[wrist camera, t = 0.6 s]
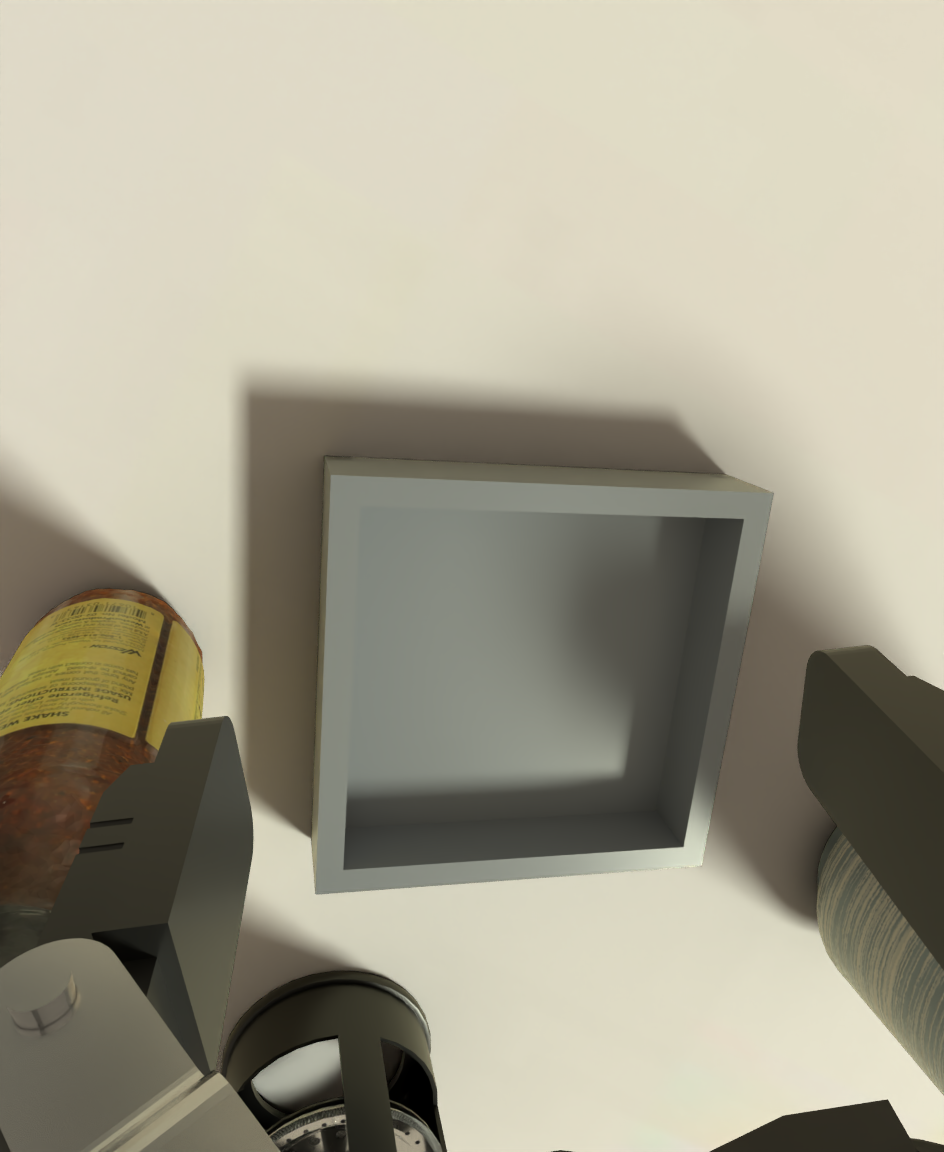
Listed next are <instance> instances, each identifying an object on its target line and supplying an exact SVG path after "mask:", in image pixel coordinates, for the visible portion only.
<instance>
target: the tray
mask: <svg viewBox="0 0 944 1152" xmlns="http://www.w3.org/2000/svg"><path fill="white" fill-rule="evenodd" d="M773 494H774V493H772V492H769V491H767V490H764V489H762V488H759V487H757V486H754V485H752V484H749V483H747V482H744V481H742V480H739V479H737V478H734V477H732V476H729V475H727V474H709V473H687V472H665V471H644V470H622V469H601V468H579V467H557V466H536V465H514V464H493V463H471V462H449V461H428V460H406V459H385V458H363V457H341V456H324V477H323V506H322V535H321V565H320V594H319V623H318V652H317V681H316V711H315V740H314V769H313V798H312V827H311V845H312V857H313V870H314V883H315V894H329V893H343V892H356V891H370V890H383V889H397V888H411V887H424V886H438V885H451V884H465V883H479V882H492V881H506V880H519V879H533V878H547V877H560V876H574V875H587V874H601V873H615V872H628V871H642V870H655V869H669V868H683V867H696V866H702V861H703V856H704V851H705V846H706V840H707V835H708V830H709V825H710V820H711V815H712V809H713V804H714V799H715V794H716V789H717V784H718V778H719V773H720V768H721V763H722V758H723V753H724V747H725V742H726V737H727V732H728V727H729V722H730V716H731V711H732V706H733V701H734V696H735V691H736V685H737V680H738V675H739V670H740V665H741V660H742V654H743V649H744V644H745V639H746V634H747V629H748V623H749V618H750V613H751V608H752V603H753V598H754V592H755V587H756V582H757V577H758V572H759V567H760V561H761V556H762V551H763V546H764V541H765V536H766V530H767V525H768V520H769V515H770V510H771V505H772V499H773Z"/></svg>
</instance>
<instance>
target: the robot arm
mask: <svg viewBox="0 0 944 1152" xmlns="http://www.w3.org/2000/svg"><path fill="white" fill-rule="evenodd" d="M798 758H799V764H800V768H801V771H802V774H803V777H804V779H805V781H806V783H807V785H808V787H809V788H810V790H811V791H812V793H813V794H814V795H815V797H816V798H817V799H818V801H819V802H820V803H821V805H822V806H823V808H824V809H825V810H826V812H827V813H828V814H829V816H830V817H831V818H832V820H833V821H834V822H835V824H836V825H837V827H838V828H839V829H840V831H841V832H842V833H843V835H844V836H845V837H846V839H847V840H848V841H849V843H850V844H851V846H852V847H853V848H854V850H855V851H856V852H857V854H858V855H859V856H860V858H861V859H862V860H863V862H864V863H865V865H866V866H867V867H868V869H869V870H870V871H871V873H872V874H873V875H874V877H875V878H876V879H877V881H878V882H879V884H880V885H881V886H882V888H883V889H884V890H885V892H886V893H887V894H888V896H889V897H890V898H891V900H892V901H893V903H894V904H895V905H896V907H897V908H898V909H899V911H900V912H901V913H902V915H903V916H904V917H905V919H906V920H907V922H908V923H909V924H910V926H911V927H912V928H913V930H914V931H915V932H916V934H917V935H918V936H919V938H920V939H921V941H922V942H923V943H924V945H925V946H926V947H927V949H928V950H929V951H930V953H931V954H932V955H933V957H934V958H935V960H936V961H937V962H938V964H939V965H940V966H941V968H942V969H943V970H944V691H943V690H941V689H939V688H937V687H935V686H933V685H931V684H929V683H927V682H925V681H923V680H921V679H919V678H917V677H915V676H906V675H905V674H904V673H902V672H901V671H900V670H899V669H898V668H897V667H896V666H895V665H894V664H893V663H891V662H890V661H889V660H888V659H887V658H886V657H885V656H884V655H883V654H881V653H880V652H879V651H878V650H877V649H876V648H874V647H872V646H868V645H865V646H856V647H847V648H839V649H830V650H821V651H815V652H814V653H813V654H812V655H811V656H810V658H809V660H808V664H807V669H806V677H805V685H804V694H803V702H802V710H801V719H800V727H799V735H798ZM252 854H253V821H252V812H251V806H250V802H249V797H248V792H247V788H246V783H245V778H244V774H243V769H242V764H241V760H240V755H239V750H238V746H237V741H236V736H235V732H234V728H233V724H232V722H231V720H230V718H229V717H228V716H223V717H214V718H205V719H196V720H187V721H178V722H171V723H170V724H169V725H168V727H167V729H166V732H165V734H164V737H163V740H162V743H161V745H160V748H159V751H158V753H157V756H156V759H155V761H154V762H153V763H144V764H135V765H130V766H129V767H128V768H127V769H126V770H125V771H124V772H123V773H122V774H121V775H120V776H119V777H118V778H117V779H116V780H115V781H114V782H113V783H112V784H111V785H110V786H109V787H108V788H107V789H106V790H105V791H104V792H103V794H102V796H101V798H100V801H99V803H98V805H97V807H96V810H95V812H94V814H93V817H92V819H91V821H90V829H87V830H86V833H85V835H84V837H83V840H82V842H81V844H80V846H79V854H76V856H75V858H74V860H73V862H72V865H71V867H70V869H69V872H68V874H67V876H66V878H65V881H64V883H63V885H62V888H61V890H60V892H59V895H58V897H57V899H56V901H55V904H54V906H53V908H52V911H51V913H50V915H49V917H48V920H47V922H46V924H45V927H44V929H43V931H42V933H41V936H40V938H39V940H38V943H37V945H36V947H35V948H34V949H31V950H29V951H27V952H25V953H23V954H22V955H20V956H18V957H16V958H15V959H13V960H12V961H10V962H8V963H7V964H6V965H4V966H3V967H2V968H0V1152H280V1150H279V1149H278V1148H277V1146H276V1145H275V1144H274V1142H273V1141H272V1139H271V1138H270V1137H269V1135H268V1134H267V1133H266V1131H265V1130H264V1129H263V1127H262V1126H261V1125H260V1123H259V1122H258V1121H257V1119H256V1118H255V1117H254V1115H253V1114H252V1113H251V1111H250V1110H249V1109H248V1107H247V1106H246V1105H245V1103H244V1102H243V1101H242V1099H241V1098H240V1097H239V1095H238V1094H237V1093H236V1091H235V1090H234V1089H233V1087H232V1086H231V1085H230V1084H229V1082H228V1081H227V1080H226V1079H225V1078H224V1077H223V1076H222V1075H221V1074H220V1073H219V1072H217V1071H215V1070H216V1065H217V1059H218V1053H219V1047H220V1041H221V1035H222V1030H223V1024H224V1018H225V1012H226V1006H227V1000H228V995H229V989H230V983H231V977H232V971H233V965H234V960H235V954H236V948H237V942H238V936H239V931H240V925H241V919H242V913H243V907H244V901H245V896H246V890H247V884H248V878H249V872H250V866H251V861H252ZM553 1152H571V1151H562V1150H559V1151H553ZM710 1152H944V1145H942V1144H937V1143H933V1142H929V1141H924V1140H920V1139H912V1138H909V1136H908V1134H907V1132H906V1131H905V1129H904V1127H903V1125H902V1124H901V1122H900V1120H899V1118H898V1117H897V1115H896V1113H895V1111H894V1110H893V1108H892V1106H891V1104H890V1103H889V1101H888V1100H881V1101H875V1102H868V1103H862V1104H855V1105H849V1106H843V1107H836V1108H830V1109H823V1110H817V1111H810V1112H804V1113H798V1114H791V1115H785V1116H782V1117H780V1118H778V1119H776V1120H774V1121H771V1122H769V1123H767V1124H765V1125H763V1126H761V1127H759V1128H757V1129H755V1130H753V1131H751V1132H749V1133H747V1134H745V1135H743V1136H741V1137H739V1138H737V1139H735V1140H733V1141H731V1142H729V1143H726V1144H724V1145H722V1146H720V1147H718V1148H716V1149H714V1150H712V1151H710Z"/></svg>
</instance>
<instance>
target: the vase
mask: <svg viewBox="0 0 944 1152" xmlns="http://www.w3.org/2000/svg"><path fill="white" fill-rule="evenodd" d="M817 884H818V893H817V906H816V910H817V918H818V926H819V932H820V935H821V938H822V941H823V944H824V946H825V949H826V952H827V954H828V955H829V957H830V959H831V960H832V962H833V963H834V965H835V966H836V968H837V969H838V971H839V972H840V973H841V974H842V975H843V976H844V978H845V979H846V980H847V981H848V982H849V984H850V985H851V986H852V987H853V988H854V990H855V991H856V992H857V993H858V994H859V995H860V997H861V998H862V999H863V1000H864V1001H865V1003H866V1004H867V1005H868V1006H869V1007H870V1009H871V1010H872V1011H873V1012H874V1013H875V1014H876V1016H877V1017H878V1018H879V1019H880V1020H881V1022H882V1023H883V1024H884V1025H885V1026H886V1028H887V1029H888V1030H889V1031H890V1032H891V1033H892V1035H893V1036H894V1037H895V1038H896V1039H897V1041H898V1042H899V1043H900V1044H901V1045H902V1047H903V1048H904V1049H905V1050H906V1051H907V1053H908V1054H909V1055H910V1056H911V1057H912V1058H913V1060H914V1061H915V1062H916V1063H917V1064H918V1066H919V1067H920V1068H921V1069H922V1070H923V1072H924V1073H925V1074H926V1075H927V1076H928V1077H929V1079H930V1080H931V1081H932V1082H933V1083H934V1085H935V1086H936V1087H937V1088H938V1089H939V1091H940V1092H941V1093H942V1094H943V1095H944V970H943V969H942V968H941V966H940V965H939V964H938V962H937V961H936V960H935V958H934V957H933V955H932V954H931V953H930V951H929V950H928V949H927V947H926V946H925V945H924V943H923V942H922V941H921V939H920V938H919V936H918V935H917V934H916V932H915V931H914V930H913V928H912V927H911V926H910V924H909V923H908V922H907V920H906V919H905V917H904V916H903V915H902V913H901V912H900V911H899V909H898V908H897V907H896V905H895V904H894V903H893V901H892V900H891V898H890V897H889V896H888V894H887V893H886V892H885V890H884V889H883V888H882V886H881V885H880V884H879V882H878V881H877V879H876V878H875V877H874V875H873V874H872V873H871V871H870V870H869V869H868V867H867V866H866V865H865V863H864V862H863V860H862V859H861V858H860V856H859V855H858V854H857V852H856V851H855V850H854V848H853V847H852V846H851V844H850V843H849V841H848V840H847V839H846V837H845V836H844V835H843V833H842V832H841V831H840V829H839V828H838V827H836V828H835V830H834V831H833V833H832V835H831V836H830V838H829V840H828V841H827V843H826V846H825V848H824V850H823V853H822V855H821V859H820V863H819V867H818V876H817Z"/></svg>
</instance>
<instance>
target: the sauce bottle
mask: <svg viewBox="0 0 944 1152" xmlns="http://www.w3.org/2000/svg"><path fill="white" fill-rule="evenodd" d="M203 695H204V670H203V665H202V651H201V649H200V647H199V646H198V644H197V642H196V640H195V637H194V635H193V632H192V631H191V630H190V629H189V628H188V627H187V625H186V624H185V622H184V621H183V620H182V618H181V617H180V616H179V615H177V614H176V613H175V611H174V610H173V609H172V608H171V607H169V606H168V605H167V604H166V602H164V601H162V600H159V599H157V598H155V597H154V596H151V595H148V594H146V593H143V592H137V591H135V590H121V589H110V588H108V589H94V590H88V591H85V592H83V593H81V594H78V595H76V596H74V597H72V598H70V599H69V600H66V601H65V602H63V603H61V604H60V605H58V606H57V607H55V608H54V609H52V610H50V611H49V612H48V613H47V614H46V615H45V616H44V617H43V618H41V619H40V620H39V621H38V622H37V623H36V625H35V626H34V628H33V629H31V630H30V632H29V633H28V634H27V635H26V636H25V638H24V639H23V641H22V642H21V644H20V646H19V647H18V649H17V651H16V653H15V654H14V656H13V658H12V659H11V661H10V663H9V665H8V666H7V668H6V670H5V671H4V673H3V675H2V676H1V678H0V968H2V967H3V966H4V965H6V964H7V963H8V962H10V961H12V960H13V959H15V958H16V957H18V956H20V955H22V954H23V953H25V952H27V951H29V950H31V949H34V948H35V947H36V945H37V943H38V940H39V938H40V936H41V933H42V931H43V929H44V927H45V924H46V922H47V920H48V917H49V915H50V913H51V911H52V908H53V906H54V904H55V901H56V899H57V897H58V895H59V892H60V890H61V888H62V885H63V883H64V881H65V878H66V876H67V874H68V872H69V869H70V867H71V865H72V862H73V860H74V858H75V856H76V854H79V846H80V844H81V842H82V840H83V837H84V835H85V833H86V830H87V829H90V821H91V819H92V817H93V814H94V812H95V810H96V807H97V805H98V803H99V801H100V798H101V796H102V794H103V792H104V791H105V790H106V789H107V788H108V787H109V786H110V785H111V784H112V783H113V782H114V781H115V780H116V779H117V778H118V777H119V776H120V775H121V774H122V773H123V772H124V771H125V770H126V769H127V768H128V767H129V766H130V765H135V764H144V763H153V762H154V761H155V759H156V756H157V753H158V751H159V748H160V745H161V743H162V740H163V737H164V734H165V732H166V729H167V727H168V725H169V724H170V723H171V722H178V721H187V720H196V719H202V709H203Z"/></svg>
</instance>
